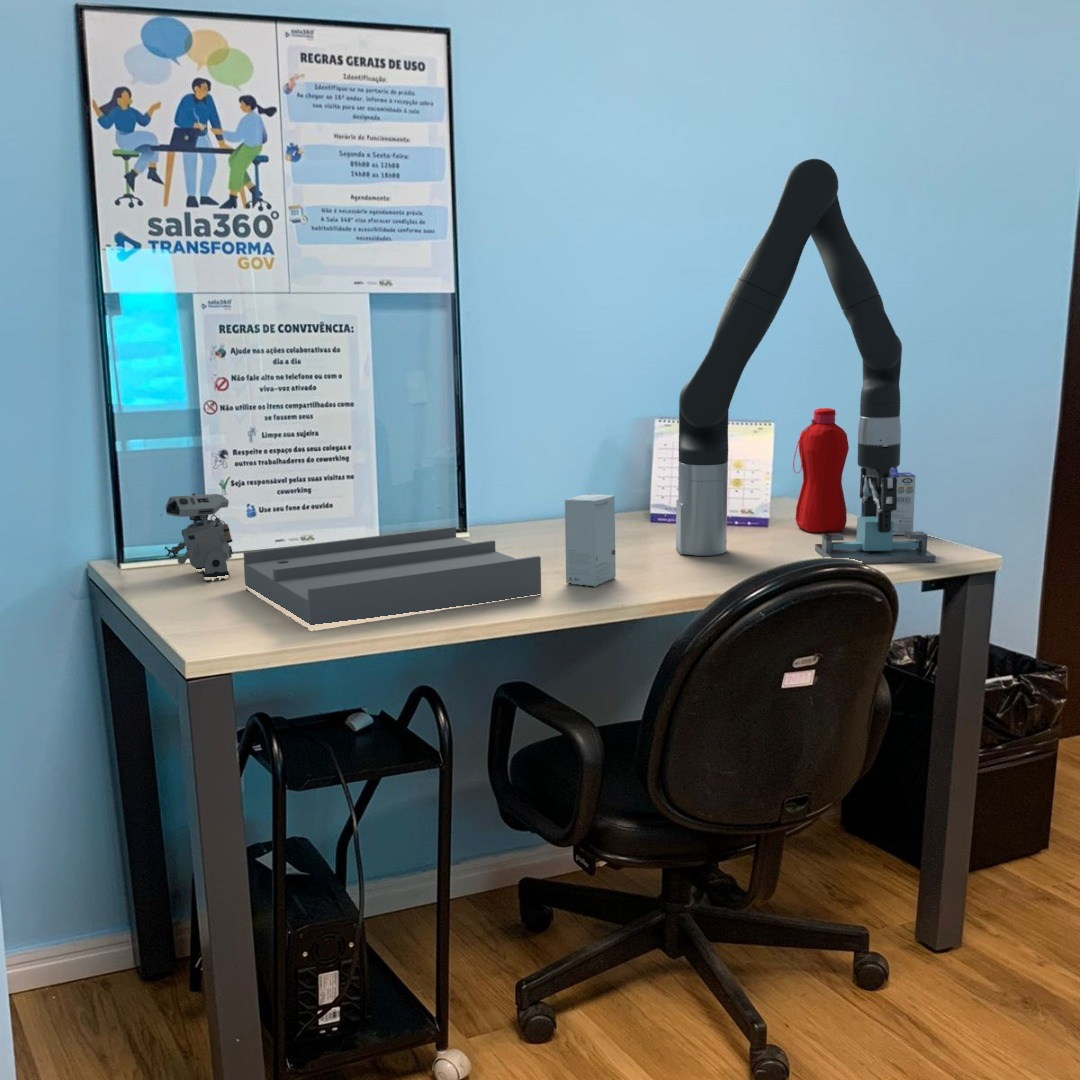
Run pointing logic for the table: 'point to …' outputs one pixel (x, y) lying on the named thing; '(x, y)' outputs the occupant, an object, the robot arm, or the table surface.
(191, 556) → the figurine
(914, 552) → the mount
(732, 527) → the table surface
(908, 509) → the ink cartridge box
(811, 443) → the water bottle
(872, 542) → the light blue skewered cube
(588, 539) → the skincare box
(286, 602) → the desk organizer
